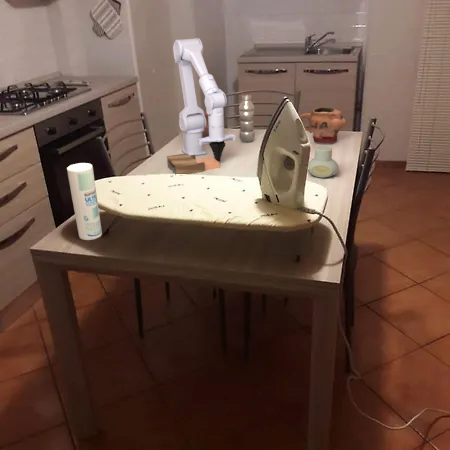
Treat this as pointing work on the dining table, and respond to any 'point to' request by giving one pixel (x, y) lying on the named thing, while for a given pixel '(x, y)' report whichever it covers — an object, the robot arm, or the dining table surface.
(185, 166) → the cubby
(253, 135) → the plastic bottle
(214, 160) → the tile
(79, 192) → the spray can
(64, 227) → the dining table surface
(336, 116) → the decorative planter
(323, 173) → the air freshener
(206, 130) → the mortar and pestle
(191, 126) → the robot arm
